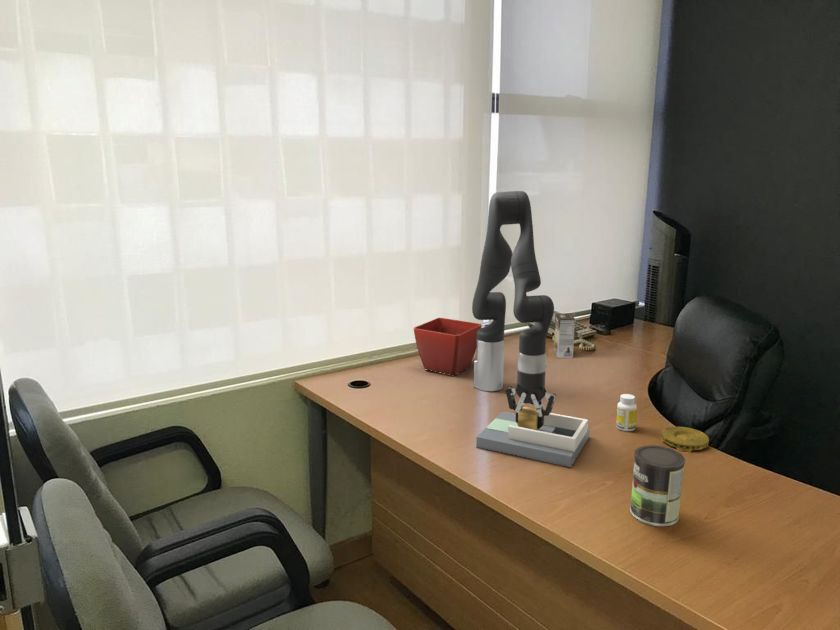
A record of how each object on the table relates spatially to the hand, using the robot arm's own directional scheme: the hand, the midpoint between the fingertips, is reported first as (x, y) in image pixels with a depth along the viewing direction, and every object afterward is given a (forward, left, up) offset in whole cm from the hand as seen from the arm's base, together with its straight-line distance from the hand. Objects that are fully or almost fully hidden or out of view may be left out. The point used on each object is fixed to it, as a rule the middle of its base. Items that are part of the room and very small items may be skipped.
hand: (529, 425), depth 174 cm
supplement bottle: (+22, +21, -5) cm, 31 cm away
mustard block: (0, 0, 0) cm, 0 cm away
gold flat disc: (+39, +18, -5) cm, 43 cm away
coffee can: (+36, -23, -5) cm, 43 cm away
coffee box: (-13, +82, -5) cm, 83 cm away
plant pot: (-47, +46, -5) cm, 65 cm away
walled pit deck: (+1, 0, -4) cm, 5 cm away
